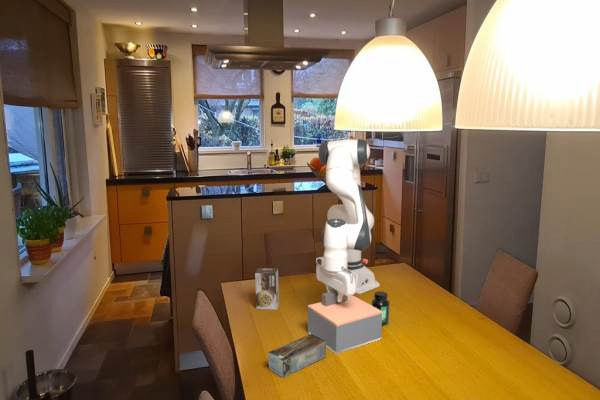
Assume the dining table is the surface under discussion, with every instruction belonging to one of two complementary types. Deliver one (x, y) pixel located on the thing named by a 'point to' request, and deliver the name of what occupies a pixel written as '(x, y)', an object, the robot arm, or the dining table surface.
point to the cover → (343, 309)
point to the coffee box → (267, 288)
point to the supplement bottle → (382, 305)
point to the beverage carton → (297, 355)
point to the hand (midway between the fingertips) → (334, 298)
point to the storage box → (345, 332)
